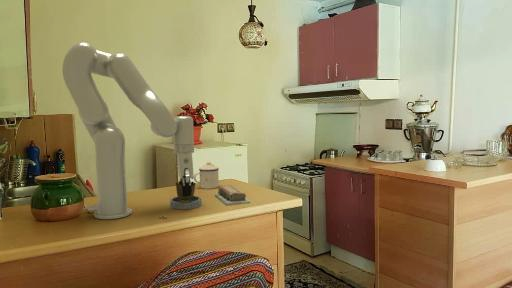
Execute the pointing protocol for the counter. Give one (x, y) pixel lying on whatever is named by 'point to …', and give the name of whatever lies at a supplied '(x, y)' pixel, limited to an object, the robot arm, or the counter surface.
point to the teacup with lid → (208, 176)
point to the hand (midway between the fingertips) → (185, 193)
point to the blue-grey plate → (185, 203)
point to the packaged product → (231, 195)
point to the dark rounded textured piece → (180, 193)
